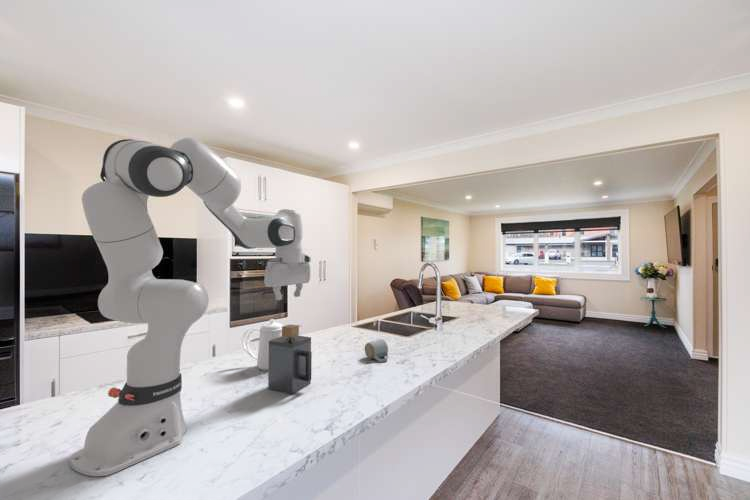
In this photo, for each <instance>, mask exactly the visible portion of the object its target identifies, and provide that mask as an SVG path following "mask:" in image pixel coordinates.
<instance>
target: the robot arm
mask: <svg viewBox="0 0 750 500" xmlns="http://www.w3.org/2000/svg"><path fill="white" fill-rule="evenodd" d="M104 151H105V152H104V153H103V156H102V165H101V171H100V175H99V176H100V179H101V181H100V182H97V183H94V184H92V185H90V186H89V187H88V188H86V189H85V190H84V191H83V193H82V195H81V201H82V202H81V203H82V207H83V212H84V216H85V219H86V222H87V225H88V227H89V230H90V233H91V235H92V238H93V239H94V241H95V243H96V245H97V247H98V249H99V252H100V254H101V257H102V259H103V261H104V263H105V266H106V269H107V274H108V282H107V284H106V285H105V286H104V287H103V288H102V289H101V292H100V293H99V295H98V299H97V307H98V310H99V312H100V314H101V316H103V317H105V318H107V319H108V320H111V321H112V320H113V321H116V322H120V323H123V324H124V323H126V324H147V331H146V334H145V337H143V338H142V339H141V340H139V341H137V342H135V343H134V344H133V345H132V346H131V347H130V348H129V350H128V352H127V354H126V382H125V384H124V385H123V386H122V389H120V388H118V387H111V388H110V389H109V390H108V391H107V396H108V397H110V398H113V399H116V398H117V402H116V403H115V404H114V405H112V407H111V408H110V409H109V410H108V411H107V412H106V413H105V414H103V415H102V416H101V417H100V418H99V419H98V420H96V422H95V423H94V424H92V426H90V427H89V429H88V431H87V433H86V436H85V440H84V446H83V448H82V449H79V450H78V451H76V452H74V453H73V454H71V456H70V460H69V465H70V467H71V468H72V469H73V470H74V471H75V472H77V473H79V474H82V475H84V476H91V477H107V476H109V475H112V474H114V473H117V472H119V471H122V470H124V469H126V468H128V467H131V466H133V465H135V464H138V463H139V462H142V461H144V460H147V459H149V458H150V457H153V456H156V455H158V454H160V453H162V452H164V451H167V450H169V449H172V448H174V447H175V446H178V445H180V444H181V443H182V441H183V435H184V434H185V432H186V431H187V427H188V426H187V423H186V421H185V419H184V413H183V409H182V407H183V406H182V400H181V391H182V385H183V384H182V382H183V381H182V378H183V377H182V373H180V371H181V369H180V368H181V353H182V346H183V345H182V344H183V342H184V338H185V336H186V334H187V333H188V331H189V329H190V328H191V326H192V325H194V323H196V322H197V321H199V320H200V319H201V318H202V317H203V316H204V315H205V313H206V311H207V310H208V306H209V295H208V291H207V290H206V288H205V287H204V285H203V284H202V283H199V282H195V281H191V280H185V279H171V278H169V279H167V278H166V279H165V278H164V279H163V278H161V279H159V278H156V277H155V275H154V274H153V269H155V267H156V266H158V265H159V264H160V262H161V260H162V259H163V255H164V250H163V247H162V244H161V242H160V238H159V236H158V234H157V231H156V229H155V226H154V223H153V220H152V219H151V216H150V215H149V210H148V199H149V196H150V197H156V198H163V197H164V198H165V197H171V196H173V195H176V194H177V193H178V192H180V191H181V190H182V189H184V187H185V186H186V187H187V188H188V189H189V190H191V192H193V193H194V194H195V195H196V196H198V197H199V198H200V200H202V201H203V204H204V206H205V207H206V208H207V209H208V211H209V212H210V213H211V214H212V216H214V217H215V218H216V219H217V220H218V221H219V222H220V223H221V224H222V225H223V226H224V227H225V228H226V229H227V231H228V230H229V232H230V233H231V235H232V236H233V237H234V239H235V241H236V243H237V244H238V245H239V246H240V247H241V248H243V249H247V250H251V249H252V250H253V249H258V248H259V249H263V248H265V249H268V248H271V249H273V248H275V257H270V258H269V259H268V260H267V262H266V266H265V270H264V271H265V273H264V277H263V278H264V279H263V283H264V285H265V287H266V288H272V290H273V293H274V295H275V301H282V300H283V296H284V294H282V293H281V289H282V287H286V286H292V285H295V291H293V296H294V298H297V297H298V298H299V297H301V291H302V289H303V287H304V286H303V284H308V283H309V282H310V281H311V265H310V263H311V259H312V258H311V256H310V255H307V254H306V253H304V252H303V247H302V239H303V222H302V217H301V214H300V213H299V212H298V211H296V210H293V209H280V210H278V211H277V213H276V214H275V215H272V216H269V217H259V218H257V217H256V218H255V217H254V218H252V217H247V216H245V215H243V214H242V213H241V211H239V209H238V208H237V207H236V206H235V205H234V204H235V202H236V201H237V199H238V198H239V196H240V194H241V189H242V183H241V178H240V177H239V176H238V174H237V173H236V172H235V170H233V168H232V167H231V166H230V165H228V163H227V162H226V161H225V160H223V159H222V158H221V157H220V156H219V155H218V154H217V153H216V152H215V151H213V150H212V149H210V148H209V147H208V146H206V144H203V143H202V142H201V141H199V140H197V139H195V138H190V137H185V138H182V139H178V140H177V141H175V142H174V143H172V144H171V146H170V147H165V146H163V145H162V146H161V145H159V144H158V145H157V144H154V143H153V142H149V141H145V140H139V139H138V140H137V139H130V138H129V139H128V138H127V139H119V140H117V141H115V142H113V143H110V145H109V146H107V148H106V149H105V150H104Z"/></svg>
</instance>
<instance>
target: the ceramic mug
mask: <svg viewBox="0 0 750 500" xmlns="http://www.w3.org/2000/svg"><path fill="white" fill-rule="evenodd" d="M388 352H389V346H388V344H387V342H386V340H385V339H384V338H379V339H376V340H373V341H372V340H371V341H368V342H367V343H366V344H365V346H364V353H365V356H366V357H367V358H368V359H369V360H375V361H377V362H381V363H385V362H387V361H388V358H389V355H388ZM384 357H385V358H384Z"/></svg>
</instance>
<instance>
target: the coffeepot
mask: <svg viewBox="0 0 750 500" xmlns="http://www.w3.org/2000/svg"><path fill="white" fill-rule="evenodd" d="M297 325H298V326H299V328H300V327H302V328H303V327H304V325H303V324H297ZM283 326H284V325H283V324H282V323H281V322H275V319H269V322H265V323H264V324H262V325H261V326H260V328H258V327H254V328H250V329H248V330H246V331H245V332H244V334H243V336H242V345H243V346H242V347H243V349H244V350H245V352H246V353H247V354H248V355H249V356H250V357H251V358H253V359H255V360H257V362H256V366H257V368H258V369H260V370H263V371H268V364H269V341H270V340H273V339H276V338H278V337H281V336H282V327H283ZM251 330H252V331H251ZM249 331H250V332H249ZM254 331H259V339H258V350H257V356H256V355H254V353H253V352H252V351H251V349H250V347H249V338H250V335H251V334H252V333H253V332H254ZM248 332H249V334H248V335H247V337H246V334H247V333H248ZM245 337H246V343H245Z"/></svg>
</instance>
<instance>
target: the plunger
mask: <svg viewBox="0 0 750 500" xmlns="http://www.w3.org/2000/svg"><path fill="white" fill-rule="evenodd" d="M298 325H299V324H287V325H282V326H283V327H282V336H284V337H289V340H292V337H294V336H297V335H298V336H300V327H299V326H298Z"/></svg>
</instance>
